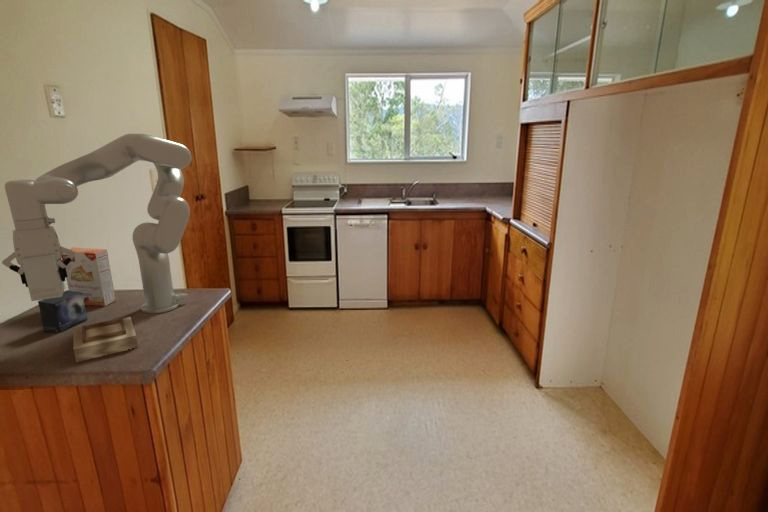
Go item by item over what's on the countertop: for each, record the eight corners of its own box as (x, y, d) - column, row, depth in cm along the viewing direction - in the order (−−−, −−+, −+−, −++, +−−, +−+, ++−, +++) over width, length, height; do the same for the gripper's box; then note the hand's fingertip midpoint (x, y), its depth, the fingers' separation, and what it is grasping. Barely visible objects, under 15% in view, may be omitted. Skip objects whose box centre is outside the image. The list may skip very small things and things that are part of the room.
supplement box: (63, 297, 121) (53, 255, 117) (30, 301, 117) (19, 259, 114) (66, 289, 127) (57, 249, 123) (36, 293, 123) (25, 253, 120)
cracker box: (70, 305, 153) (59, 250, 147) (83, 299, 159) (73, 246, 153) (104, 307, 151) (94, 252, 145) (116, 301, 157) (107, 248, 151)
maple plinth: (132, 327, 135) (129, 313, 134) (138, 347, 123) (135, 331, 121) (76, 339, 127) (72, 324, 125) (76, 362, 114) (72, 345, 113)
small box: (59, 333, 131) (53, 303, 128) (43, 331, 132) (35, 301, 129) (89, 320, 141) (83, 291, 138) (73, 318, 142) (67, 289, 139)
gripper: (70, 218, 124) (82, 273, 129) (-8, 225, 114) (8, 285, 119) (70, 223, 118) (82, 280, 123) (-12, 230, 108) (5, 293, 113)
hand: (46, 282), depth 121 cm, fingers closed on supplement box, 7 cm apart
